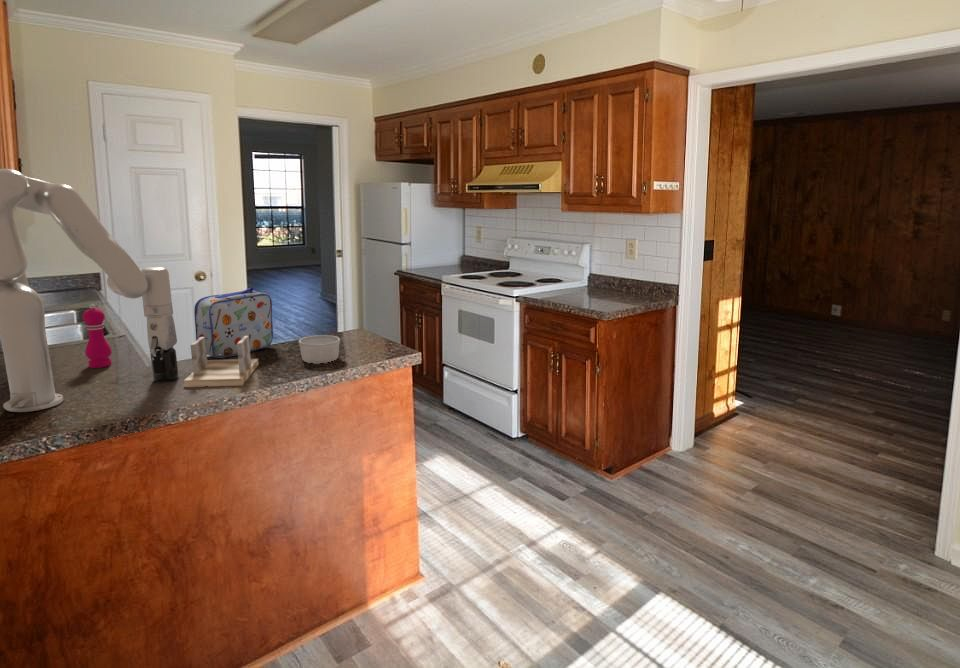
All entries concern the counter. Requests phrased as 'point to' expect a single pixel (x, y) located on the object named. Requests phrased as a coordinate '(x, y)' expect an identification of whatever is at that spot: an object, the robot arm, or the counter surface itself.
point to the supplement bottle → (167, 366)
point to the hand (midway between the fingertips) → (165, 368)
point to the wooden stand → (220, 366)
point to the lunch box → (234, 321)
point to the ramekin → (319, 348)
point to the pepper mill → (96, 339)
